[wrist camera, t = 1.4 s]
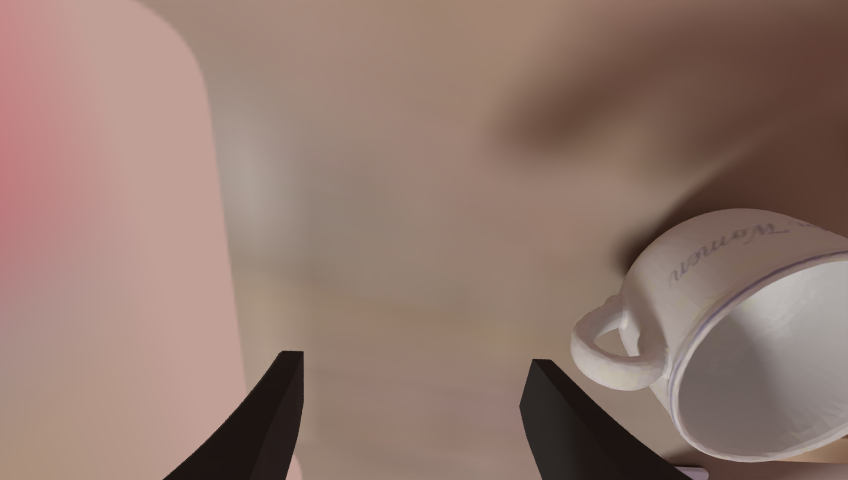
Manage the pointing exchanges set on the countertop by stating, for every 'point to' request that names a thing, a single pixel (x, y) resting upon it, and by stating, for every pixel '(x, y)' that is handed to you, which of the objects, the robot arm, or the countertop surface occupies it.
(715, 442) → the teacup
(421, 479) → the countertop surface
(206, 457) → the robot arm
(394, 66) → the countertop surface
